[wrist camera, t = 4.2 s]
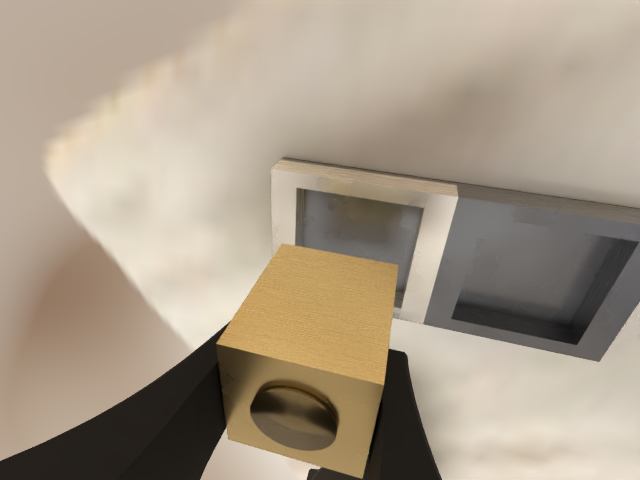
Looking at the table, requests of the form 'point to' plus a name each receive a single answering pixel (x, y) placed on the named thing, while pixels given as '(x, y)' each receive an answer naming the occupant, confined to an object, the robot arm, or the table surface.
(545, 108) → the table surface
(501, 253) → the tray
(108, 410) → the robot arm
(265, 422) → the brass cube with hole
